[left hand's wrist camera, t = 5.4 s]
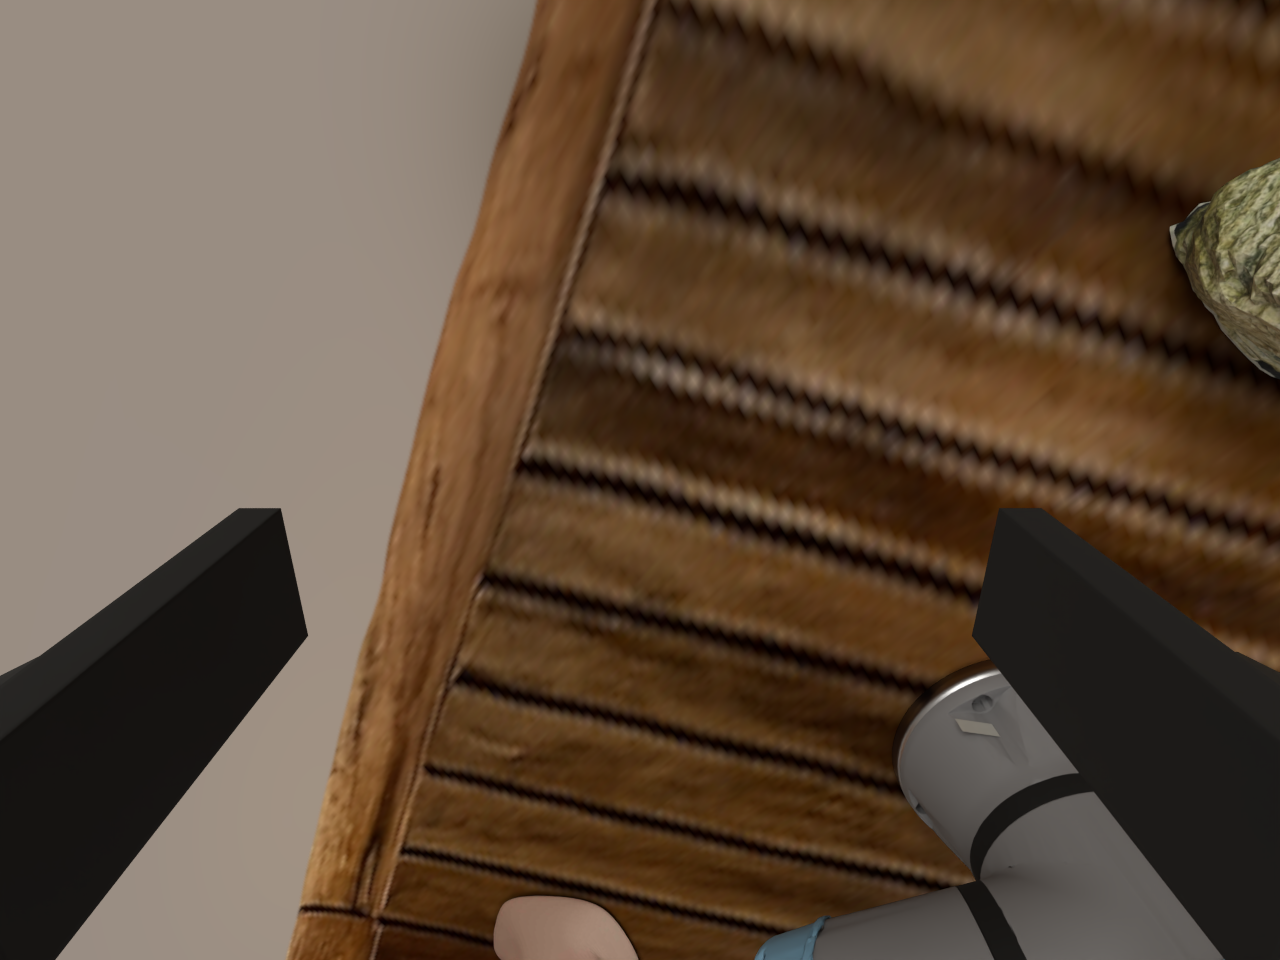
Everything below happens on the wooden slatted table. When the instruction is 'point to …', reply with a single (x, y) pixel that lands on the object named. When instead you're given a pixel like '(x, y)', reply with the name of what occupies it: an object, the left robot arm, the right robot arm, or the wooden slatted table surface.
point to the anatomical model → (558, 931)
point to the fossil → (1239, 261)
